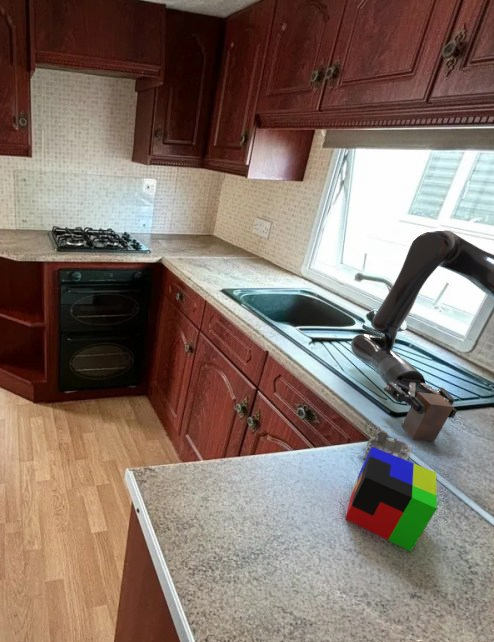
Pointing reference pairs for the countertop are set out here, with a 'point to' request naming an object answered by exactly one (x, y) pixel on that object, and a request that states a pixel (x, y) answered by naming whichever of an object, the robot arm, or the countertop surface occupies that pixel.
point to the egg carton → (388, 445)
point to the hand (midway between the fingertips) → (437, 412)
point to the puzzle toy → (393, 498)
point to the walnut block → (427, 417)
